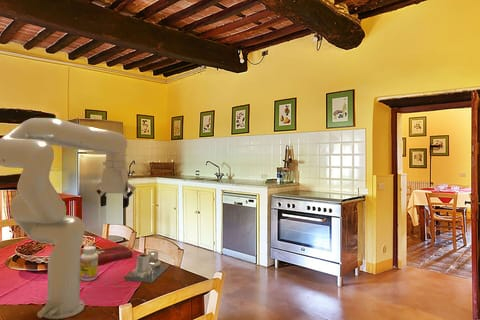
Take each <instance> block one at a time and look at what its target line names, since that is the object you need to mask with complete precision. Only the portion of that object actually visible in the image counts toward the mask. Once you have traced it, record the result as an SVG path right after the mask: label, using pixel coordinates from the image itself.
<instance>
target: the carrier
mask: <svg viewBox="0 0 480 320" xmlns="http://www.w3.org/2000/svg"><path fill="white" fill-rule="evenodd" d="M147 254H148V255H149V267H150V269H152V274H150V276H149V277H144V278H141V277H134V275H133V270H135V268H134V269H133V270H131V271H130V272H129V273H128V274H126V275H125V276H124V281H130V282H139V283H148V284H149V283H154V282H155V281H156V279H158V278H159V277H160V276H161V275H162V274H163V273H164V272H165V271H166V270H167V269H168V268H169V265H170V264H169V263H162V262H161V260H160V259H159V251H155V250H154V251H153V250H151V251H148V253H147Z"/></svg>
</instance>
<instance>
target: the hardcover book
mask: <svg viewBox="0 0 480 320" xmlns="http://www.w3.org/2000/svg"><path fill="white" fill-rule="evenodd" d="M95 253H97V254H98V265H100V264H106V263H110V262H111V263H112V262H117V261H122V260H127V259H132V258H134V250H133V249H131V248H129V247H128V246H126V245H125V244H123V245H117V246H111V247H103V248H99V249H97V248H96V250H95Z"/></svg>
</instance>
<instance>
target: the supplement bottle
mask: <svg viewBox="0 0 480 320" xmlns="http://www.w3.org/2000/svg"><path fill="white" fill-rule="evenodd" d="M96 249H97V247H96V246H93V245H89V246H88V245H87V246H84V247H83V249H82V252H84V253H83V254H82V253H81V257H80V281H82V282H83V281H84V282H91V281H93V280H95V279H97V278H98V274H99V273H98V269H99V264H98V254H97V253H95V250H96Z"/></svg>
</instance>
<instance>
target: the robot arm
mask: <svg viewBox="0 0 480 320" xmlns="http://www.w3.org/2000/svg"><path fill="white" fill-rule="evenodd" d="M53 146H54V147H55V146H56V147H62V148H66V149H68V148H69V149H74V150H78V151H79V150H80V151H81V150H82V151H93V152H94V153H105V161H103V162H102V165H103V166H105V167H104V168H103V170H102V173H101V179H100V180H101V181H100V182H99V183H97V184H95V185H94V189H95V191H96V193H97V194H98V196H99V197H100V201H99V202H100V203H99V204H100V207H105V206H107V194H121V195H122V196H123V199H122V208H123V209H125V208H128V207H129V205H130V197H131V196H132V195H134V193H135V190H136V189H137V188H136V187H135V186H134V185H133V184H131V183H130V182H129V175H128V169H127V168H126V155H127V154H126V150H127V148H128V140H127V138H126V137H125V135H123V134H122V133H119V132H117V131H113V130H108V129H103V128H97V127H94V126H88V125H83V124H79V123H75V122H72V121H67V120H63V119H60V118H54V117H52V118H51V117H33V118H32V117H31V118H29V119H27V120H24V121H23V122H21V123H20V124H18V125H17V126H15V127H14V128H12V129H11V130H10V131H8V132H7V133H5V134H4V135H3V136H2V137H0V166H1V167H4V168H10V169H11V168H12V169H13V168H14V169H17V168H18V169H22V171H21V173H20V177H19V179H18V183H17V187H16V190H17V192H18V194H16V195H15V196H14V197H12V200H11V201H10V206H9V213H10V216H11V218H12V220H14V222H15V223H16V225H17V226H18V227H20V229H21V230H22V231H23V232H24V233H25V235H26V236H27V237H28V238H30V239H31V240H32V241H34V242H35V243H36V242H37V243H42V244H52V245H54V247H53V249H52V250H51V252H50V253H49V256H48V259H47V291H46V292H47V294H46V296H47V300H46V301H45V306H43V307H42V308H41V310H39V311H37V317H38V318H45V319H49V320H60V319H61V320H62V319H67V318H70V317H74V316H75V315H78V314H79V313H81V312H82V311H83V310H84V309H85V302H84V301H83V300H82V299H80V297H81V296H80V293H81V289H80V288H81V279H80V259H81V255H82V253H81V252H82V244H83V239H84V235H85V227H86V226H85V222H83V220H82V219H81V218H80V217H78V216H74V215H68V214H67V206H66V204H65V202H64V200H63V198H62V197H61V196H60V194H59V193H58V192H57V190H56V188H55V187H54V186H53V184H52V182H51V180H50V174H51V173H50V172H51V169H52V165H53V162H54V158H55V151H54V149H53Z"/></svg>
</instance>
